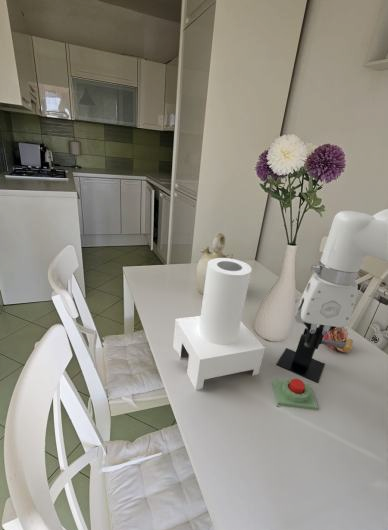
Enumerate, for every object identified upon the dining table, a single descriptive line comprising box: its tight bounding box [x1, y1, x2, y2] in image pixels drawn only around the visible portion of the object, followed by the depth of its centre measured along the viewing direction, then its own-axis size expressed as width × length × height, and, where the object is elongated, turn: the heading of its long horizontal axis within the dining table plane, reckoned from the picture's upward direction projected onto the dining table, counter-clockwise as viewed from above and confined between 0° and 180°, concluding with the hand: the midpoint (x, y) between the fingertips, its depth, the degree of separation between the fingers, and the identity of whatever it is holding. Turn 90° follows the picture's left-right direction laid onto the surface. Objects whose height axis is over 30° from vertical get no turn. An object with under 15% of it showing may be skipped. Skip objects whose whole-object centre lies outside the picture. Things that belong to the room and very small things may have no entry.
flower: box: [323, 327, 349, 353], centre depth 100 cm, size 10×9×8 cm
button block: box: [271, 378, 319, 411], centre depth 78 cm, size 10×8×4 cm
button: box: [289, 378, 306, 394], centre depth 77 cm, size 4×4×2 cm
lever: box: [305, 334, 354, 353], centre depth 83 cm, size 12×5×2 cm, turn 58°
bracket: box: [276, 327, 326, 384], centre depth 88 cm, size 12×10×12 cm
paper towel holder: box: [172, 258, 266, 391], centre depth 82 cm, size 19×19×30 cm
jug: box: [196, 232, 234, 295], centre depth 124 cm, size 15×16×25 cm
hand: (311, 344), depth 71 cm, fingers closed
